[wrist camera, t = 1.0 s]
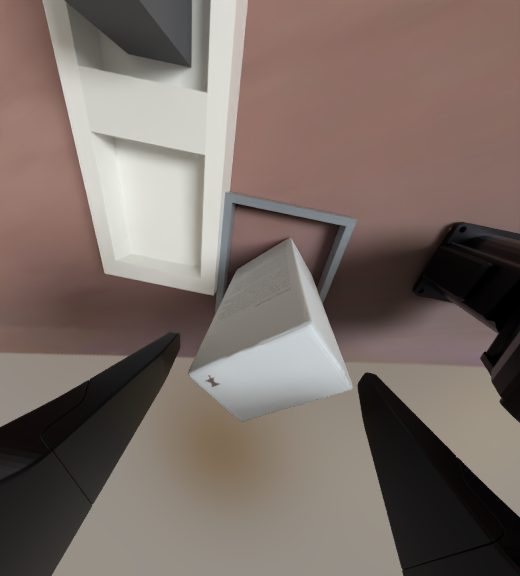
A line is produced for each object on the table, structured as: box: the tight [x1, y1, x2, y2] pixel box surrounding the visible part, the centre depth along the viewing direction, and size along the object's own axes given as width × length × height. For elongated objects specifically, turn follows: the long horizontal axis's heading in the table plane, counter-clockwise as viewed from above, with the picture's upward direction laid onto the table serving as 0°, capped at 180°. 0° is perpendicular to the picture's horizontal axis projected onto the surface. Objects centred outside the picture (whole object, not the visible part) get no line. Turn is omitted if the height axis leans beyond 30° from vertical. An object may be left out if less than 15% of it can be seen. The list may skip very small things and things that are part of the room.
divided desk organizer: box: [42, 0, 248, 296], centre depth 13 cm, size 10×24×2 cm, turn 170°
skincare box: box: [188, 238, 352, 422], centre depth 13 cm, size 6×4×12 cm
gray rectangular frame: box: [215, 192, 357, 314], centre depth 18 cm, size 10×12×2 cm
